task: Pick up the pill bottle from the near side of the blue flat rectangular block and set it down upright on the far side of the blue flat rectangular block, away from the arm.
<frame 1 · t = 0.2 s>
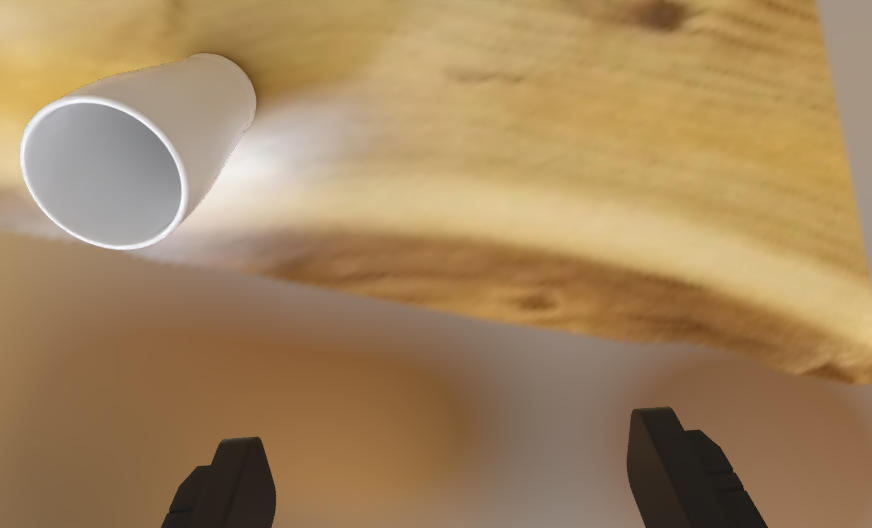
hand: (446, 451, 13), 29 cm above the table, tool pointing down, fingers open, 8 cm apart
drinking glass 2: (216, 95, 38), on the table
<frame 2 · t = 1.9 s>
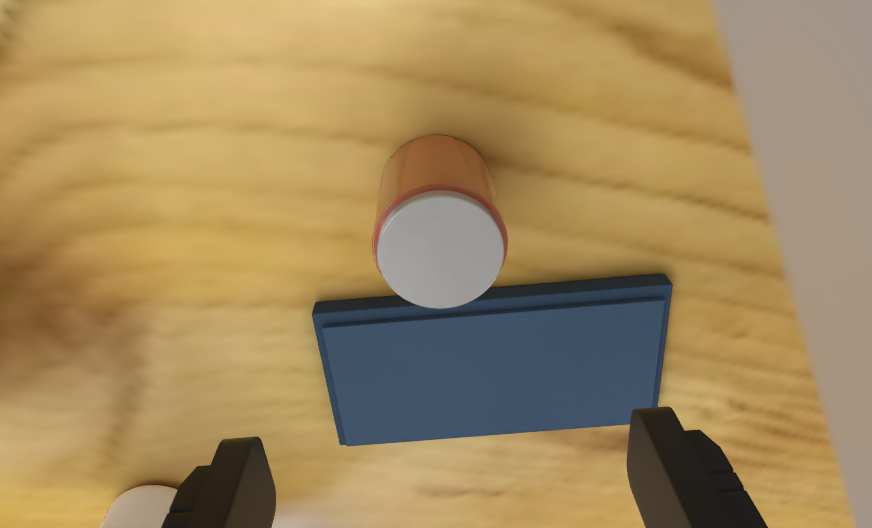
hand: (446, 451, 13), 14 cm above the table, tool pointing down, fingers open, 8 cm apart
blue flat rectangular block: (492, 357, 29), on the table
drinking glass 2: (163, 509, 34), on the table
pill bottle: (436, 188, 25), on the table
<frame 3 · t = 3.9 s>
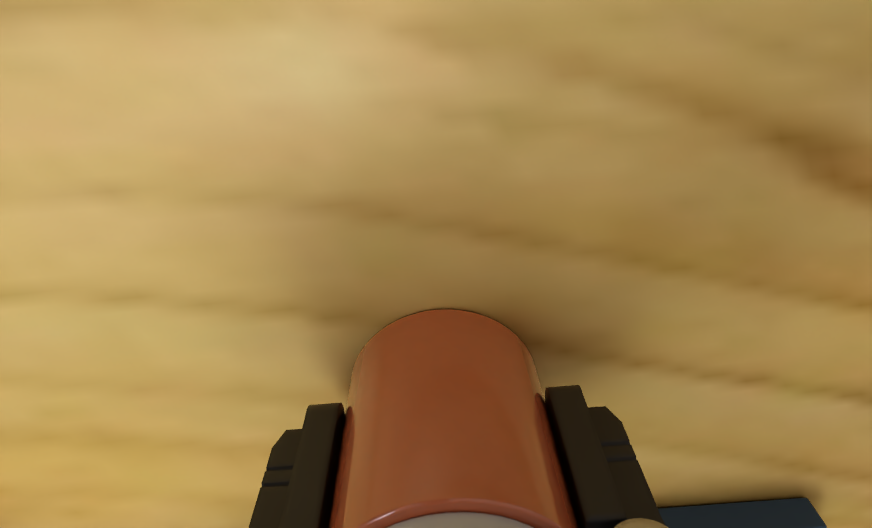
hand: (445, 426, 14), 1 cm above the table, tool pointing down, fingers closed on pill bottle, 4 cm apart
pill bottle: (444, 386, 15), on the table, touching gripper
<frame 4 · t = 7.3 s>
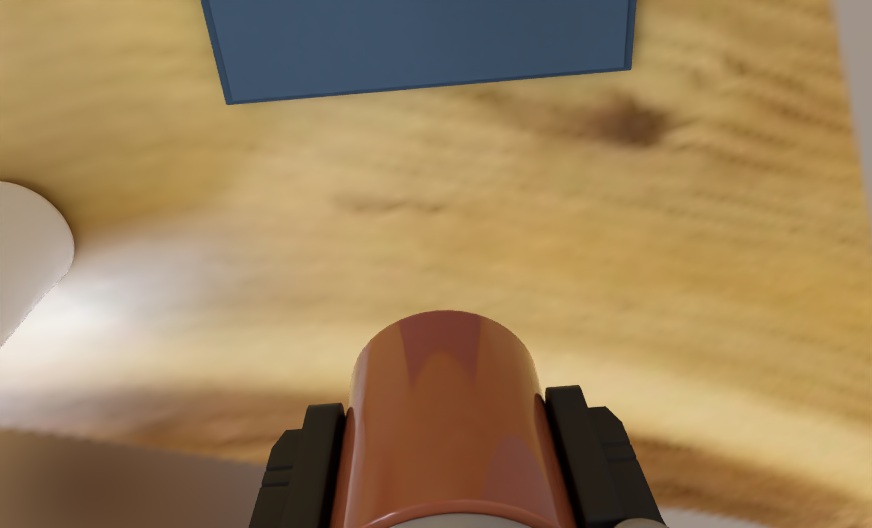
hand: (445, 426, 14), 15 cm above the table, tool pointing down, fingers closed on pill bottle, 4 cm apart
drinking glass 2: (21, 229, 27), on the table
pill bottle: (444, 387, 15), point 13 cm above the table, touching gripper
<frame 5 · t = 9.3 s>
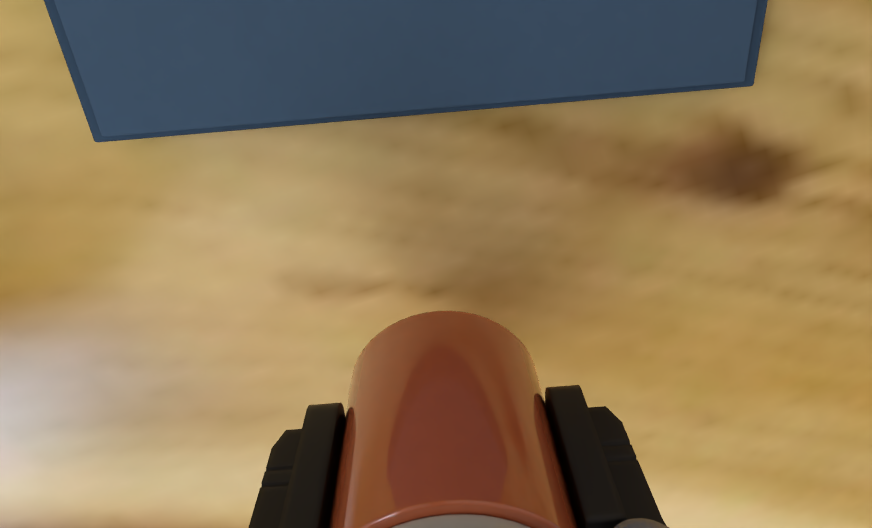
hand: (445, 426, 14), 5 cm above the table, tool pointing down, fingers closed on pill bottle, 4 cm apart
pill bottle: (444, 387, 15), point 4 cm above the table, touching gripper
when the fingers open (1 cm above the table, at t = 10.7 s): pill bottle stays where it is, on the table.
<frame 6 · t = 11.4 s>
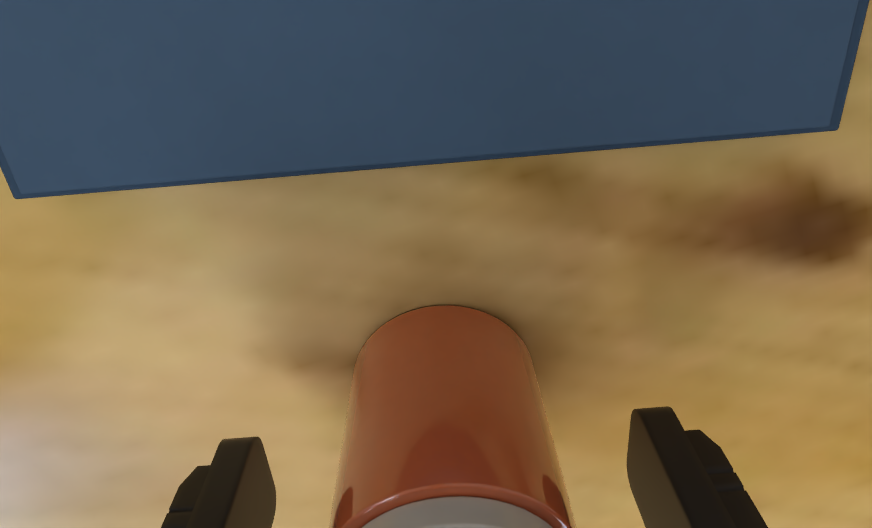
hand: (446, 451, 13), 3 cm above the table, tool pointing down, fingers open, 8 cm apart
pill bottle: (443, 380, 15), on the table
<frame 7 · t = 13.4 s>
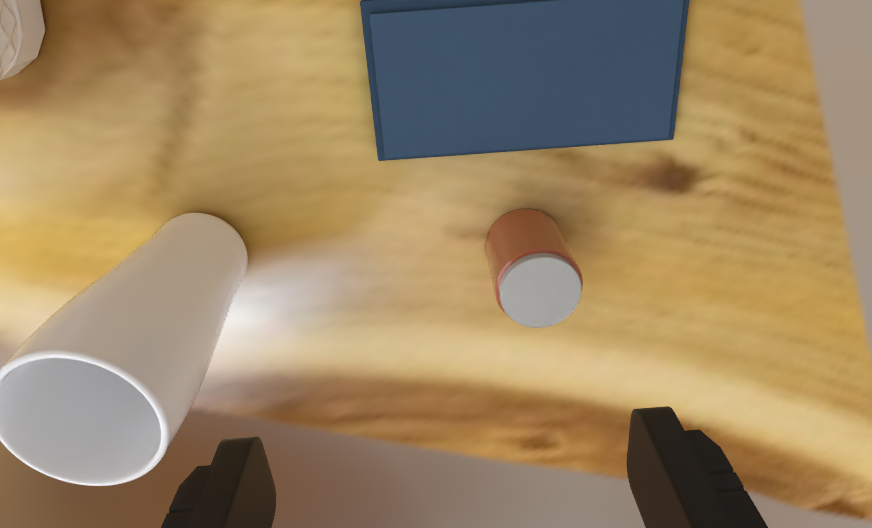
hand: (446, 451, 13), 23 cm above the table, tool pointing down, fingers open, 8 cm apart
blue flat rectangular block: (522, 71, 32), on the table
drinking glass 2: (206, 248, 36), on the table
pill bottle: (523, 244, 36), on the table
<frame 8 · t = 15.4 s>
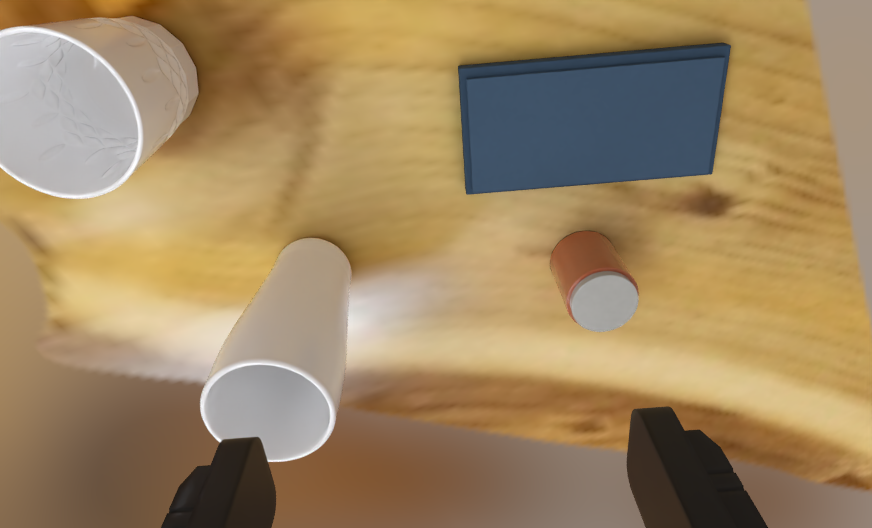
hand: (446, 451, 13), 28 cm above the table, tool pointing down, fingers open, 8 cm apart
blue flat rectangular block: (587, 119, 38), on the table
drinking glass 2: (315, 266, 43), on the table
pill bottle: (582, 259, 43), on the table
white cup: (144, 75, 36), on the table
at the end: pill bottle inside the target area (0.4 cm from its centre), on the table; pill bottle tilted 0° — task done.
